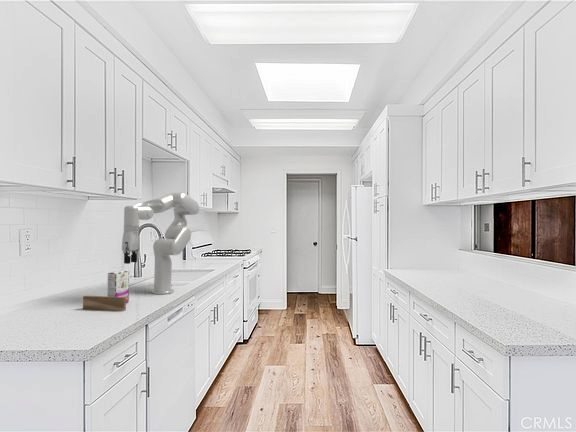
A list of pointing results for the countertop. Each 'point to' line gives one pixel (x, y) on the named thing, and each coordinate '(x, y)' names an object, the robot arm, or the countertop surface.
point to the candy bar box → (118, 284)
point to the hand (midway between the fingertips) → (130, 262)
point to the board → (104, 303)
